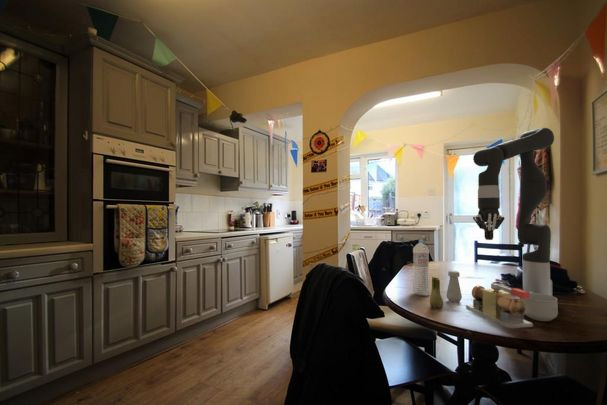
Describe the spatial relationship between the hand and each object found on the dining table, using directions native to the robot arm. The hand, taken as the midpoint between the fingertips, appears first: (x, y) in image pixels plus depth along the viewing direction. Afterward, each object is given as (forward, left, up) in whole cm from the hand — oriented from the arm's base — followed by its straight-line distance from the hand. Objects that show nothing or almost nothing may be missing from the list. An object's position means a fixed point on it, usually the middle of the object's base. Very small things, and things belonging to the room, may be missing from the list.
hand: (489, 239), depth 117 cm
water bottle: (+18, -20, -27) cm, 38 cm away
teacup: (-9, +12, -27) cm, 31 cm away
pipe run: (+6, +10, -27) cm, 29 cm away
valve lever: (+6, +15, -17) cm, 24 cm away
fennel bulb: (+22, -2, -27) cm, 35 cm away
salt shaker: (+10, -8, -27) cm, 30 cm away
